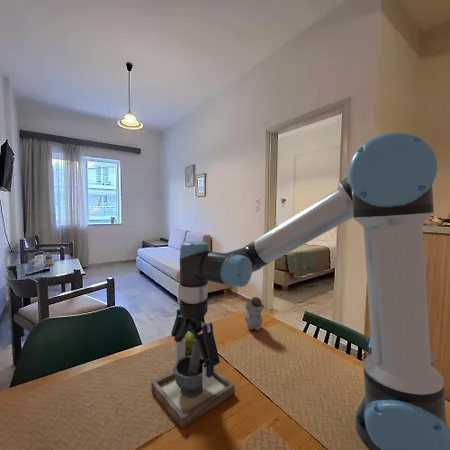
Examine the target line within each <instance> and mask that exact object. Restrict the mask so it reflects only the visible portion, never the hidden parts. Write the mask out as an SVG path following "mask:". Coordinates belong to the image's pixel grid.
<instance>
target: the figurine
mask: <svg viewBox="0 0 450 450" xmlns="http://www.w3.org/2000/svg"><path fill="white" fill-rule="evenodd" d="M244 307H245V310H246V311H245V312H244V321H245V322H246V329H247V330H248V331H252V330H256V331H257V332H259V330H260V329H261V325H262V324H263V322H264V321H263V318H262V314H261V313H262V311H263V309H264V308H265V304H264V303H262V300H261V298H259V297H257V296H254V297H252V298H246V302H245V305H244Z"/></svg>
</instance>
